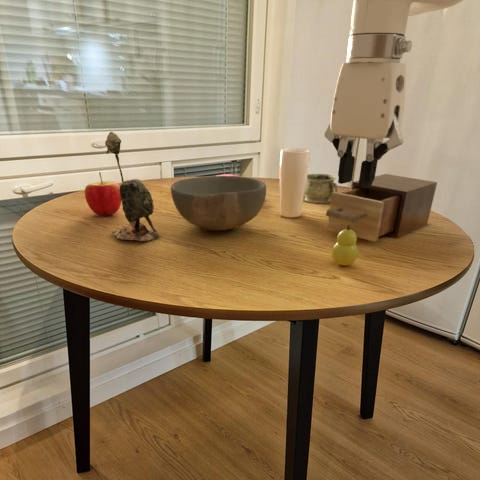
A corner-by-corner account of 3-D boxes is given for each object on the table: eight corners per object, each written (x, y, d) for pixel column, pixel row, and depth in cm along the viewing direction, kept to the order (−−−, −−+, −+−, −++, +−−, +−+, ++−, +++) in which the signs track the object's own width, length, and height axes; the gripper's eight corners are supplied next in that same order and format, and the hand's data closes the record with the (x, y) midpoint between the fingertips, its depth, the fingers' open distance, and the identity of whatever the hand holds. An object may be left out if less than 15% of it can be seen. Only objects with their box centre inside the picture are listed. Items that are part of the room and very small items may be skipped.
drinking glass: (308, 214, 105) (314, 149, 98) (297, 220, 100) (303, 153, 92) (283, 210, 108) (288, 147, 101) (271, 216, 103) (275, 150, 95)
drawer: (361, 247, 82) (368, 207, 78) (313, 233, 89) (317, 196, 85) (406, 228, 93) (413, 192, 89) (360, 217, 100) (365, 183, 96)
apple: (86, 220, 97) (78, 174, 93) (90, 210, 105) (83, 168, 100) (123, 218, 99) (117, 174, 94) (124, 209, 106) (119, 167, 101)
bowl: (262, 216, 103) (263, 173, 98) (266, 244, 85) (269, 193, 80) (179, 214, 103) (177, 171, 98) (166, 242, 85) (163, 191, 80)
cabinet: (397, 237, 90) (406, 191, 85) (346, 224, 98) (352, 181, 93) (427, 224, 99) (437, 182, 94) (378, 213, 107) (385, 173, 102)
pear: (361, 265, 76) (367, 225, 73) (347, 271, 73) (353, 231, 70) (339, 258, 79) (344, 219, 75) (325, 264, 76) (329, 224, 73)
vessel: (344, 201, 117) (347, 177, 114) (326, 206, 112) (329, 182, 109) (309, 193, 124) (311, 171, 121) (290, 198, 119) (292, 175, 116)
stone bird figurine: (132, 249, 81) (120, 136, 71) (107, 234, 89) (93, 130, 79) (169, 241, 86) (162, 134, 76) (142, 227, 93) (133, 128, 83)
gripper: (442, 51, 58) (413, 189, 67) (340, 54, 68) (326, 174, 77) (417, 48, 53) (389, 197, 62) (311, 52, 63) (300, 179, 72)
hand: (354, 183), depth 69 cm, fingers open, 3 cm apart
